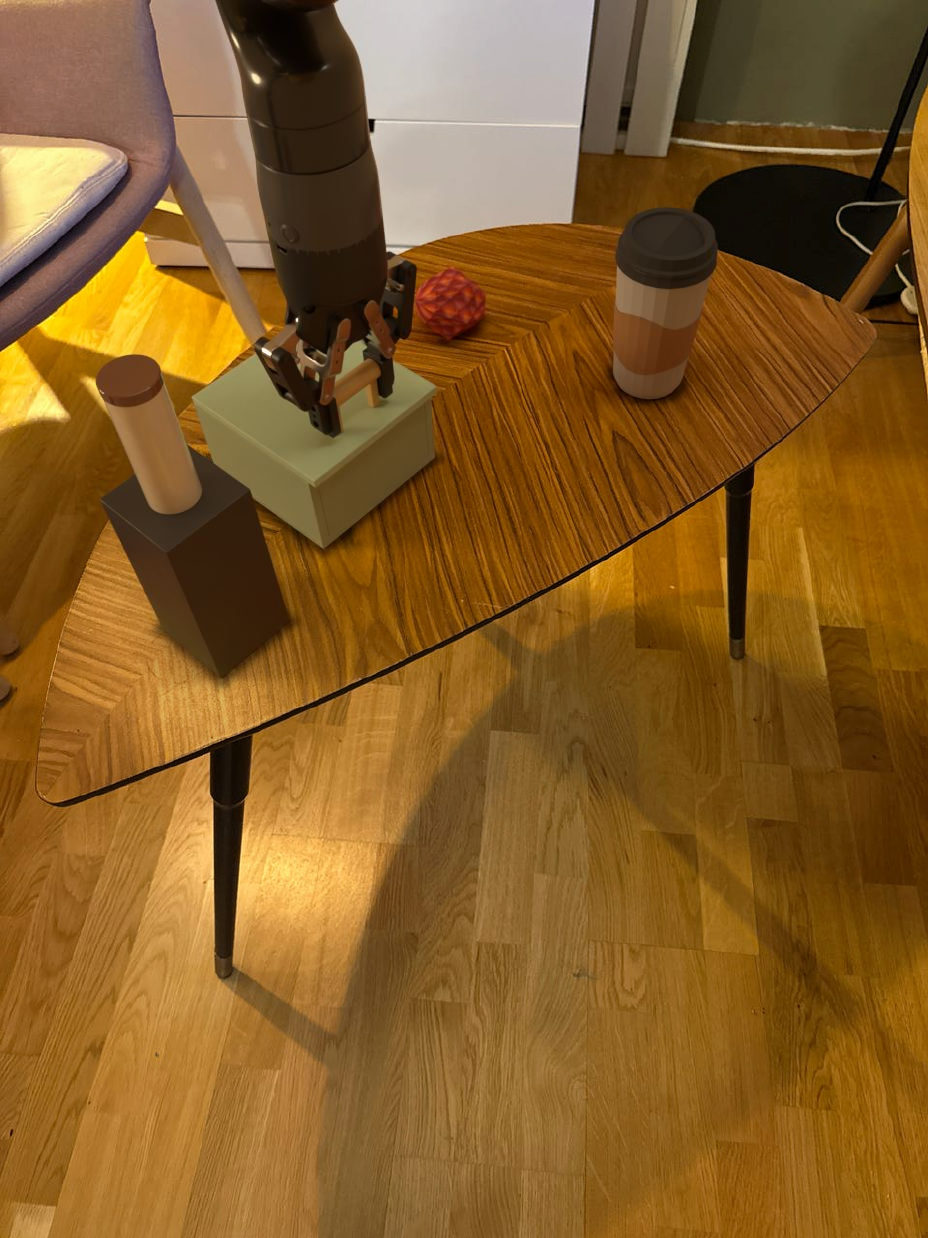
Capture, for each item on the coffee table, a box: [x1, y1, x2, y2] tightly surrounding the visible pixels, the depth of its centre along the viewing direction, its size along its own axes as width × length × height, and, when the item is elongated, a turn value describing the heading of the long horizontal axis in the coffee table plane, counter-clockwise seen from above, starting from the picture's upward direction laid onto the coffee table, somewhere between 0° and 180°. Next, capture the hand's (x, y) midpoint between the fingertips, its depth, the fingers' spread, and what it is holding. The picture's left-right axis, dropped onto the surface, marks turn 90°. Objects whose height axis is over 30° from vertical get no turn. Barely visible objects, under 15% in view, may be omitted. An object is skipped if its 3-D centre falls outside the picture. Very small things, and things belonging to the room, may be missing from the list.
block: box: [99, 443, 291, 680], centre depth 71 cm, size 7×7×15 cm
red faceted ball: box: [414, 265, 487, 341], centre depth 95 cm, size 6×7×8 cm
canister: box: [95, 353, 202, 514], centre depth 60 cm, size 4×4×10 cm
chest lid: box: [191, 340, 438, 488], centre depth 78 cm, size 14×14×5 cm
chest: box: [193, 398, 436, 550], centre depth 83 cm, size 14×14×8 cm
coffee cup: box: [612, 206, 719, 400], centre depth 86 cm, size 8×8×15 cm
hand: (354, 410), depth 77 cm, fingers closed on chest lid, 5 cm apart
